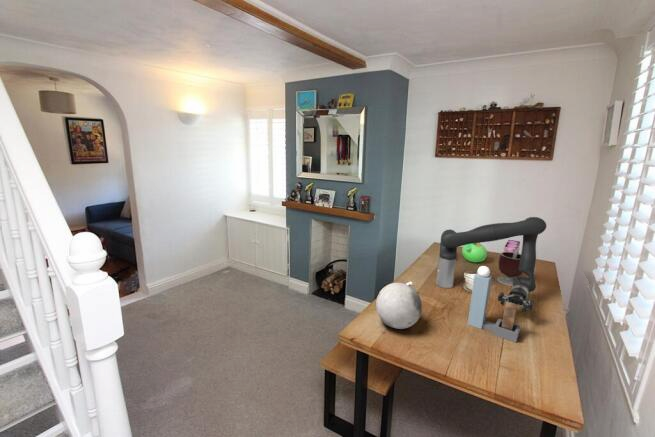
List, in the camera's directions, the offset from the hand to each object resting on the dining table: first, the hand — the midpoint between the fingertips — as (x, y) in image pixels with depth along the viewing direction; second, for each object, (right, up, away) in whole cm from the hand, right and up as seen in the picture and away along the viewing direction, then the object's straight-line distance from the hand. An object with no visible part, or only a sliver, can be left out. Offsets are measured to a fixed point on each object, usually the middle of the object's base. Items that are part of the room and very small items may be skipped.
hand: (513, 306), depth 145 cm
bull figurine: (-43, -3, +26) cm, 50 cm away
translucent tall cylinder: (-6, -11, -5) cm, 13 cm away
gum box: (+47, +9, +85) cm, 97 cm away
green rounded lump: (+19, +9, +84) cm, 87 cm away
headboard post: (-10, -10, -2) cm, 14 cm away
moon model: (-53, -9, 0) cm, 54 cm away
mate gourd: (+27, +1, +51) cm, 58 cm away
